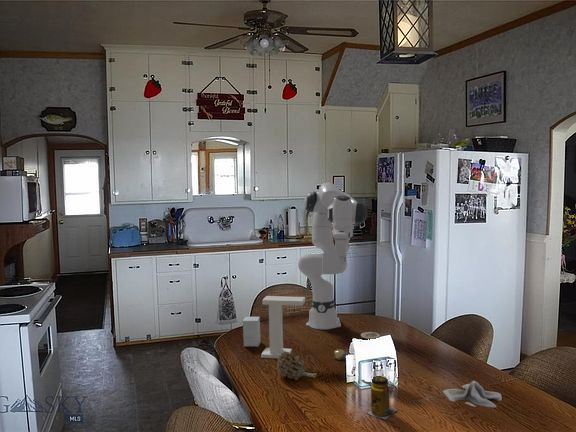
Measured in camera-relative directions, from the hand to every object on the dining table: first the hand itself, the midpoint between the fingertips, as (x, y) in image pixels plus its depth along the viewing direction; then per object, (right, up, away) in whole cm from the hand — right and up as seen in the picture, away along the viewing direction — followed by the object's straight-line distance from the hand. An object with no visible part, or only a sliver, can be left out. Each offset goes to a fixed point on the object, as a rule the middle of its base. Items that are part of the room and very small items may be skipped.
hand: (343, 263), depth 225 cm
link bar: (+6, -42, -5) cm, 42 cm away
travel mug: (+8, -43, -27) cm, 52 cm away
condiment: (+7, -46, -54) cm, 71 cm away
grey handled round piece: (-21, -44, -26) cm, 55 cm away
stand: (-26, -42, +2) cm, 49 cm away
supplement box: (-42, -41, +18) cm, 61 cm away
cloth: (+43, -45, -45) cm, 76 cm away
